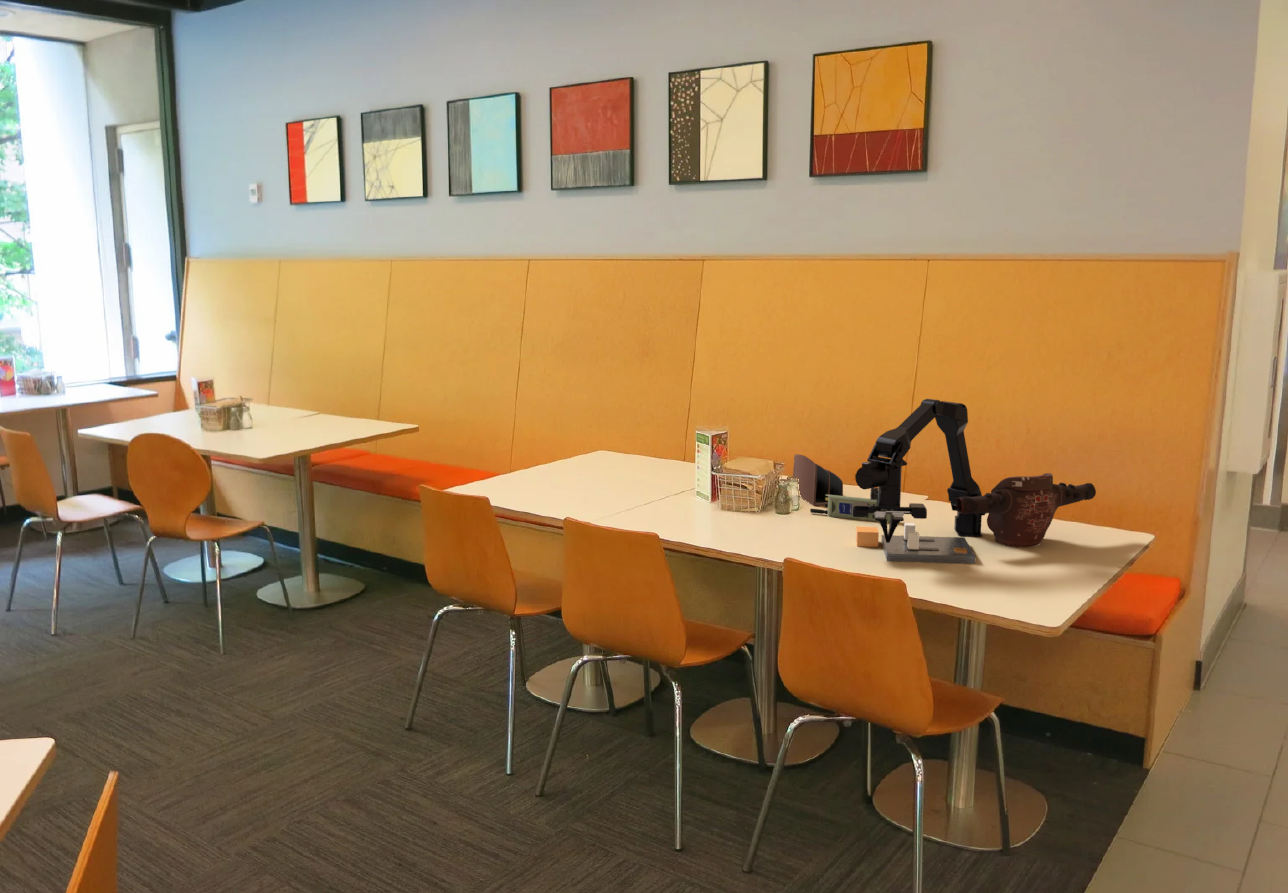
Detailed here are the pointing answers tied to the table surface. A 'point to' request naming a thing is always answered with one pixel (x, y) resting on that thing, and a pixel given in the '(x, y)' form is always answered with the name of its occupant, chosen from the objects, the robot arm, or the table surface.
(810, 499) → the letter holder
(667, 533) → the table surface
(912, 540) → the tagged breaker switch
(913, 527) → the switch
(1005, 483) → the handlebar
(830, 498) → the handheld radio
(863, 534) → the cap
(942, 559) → the breaker panel
